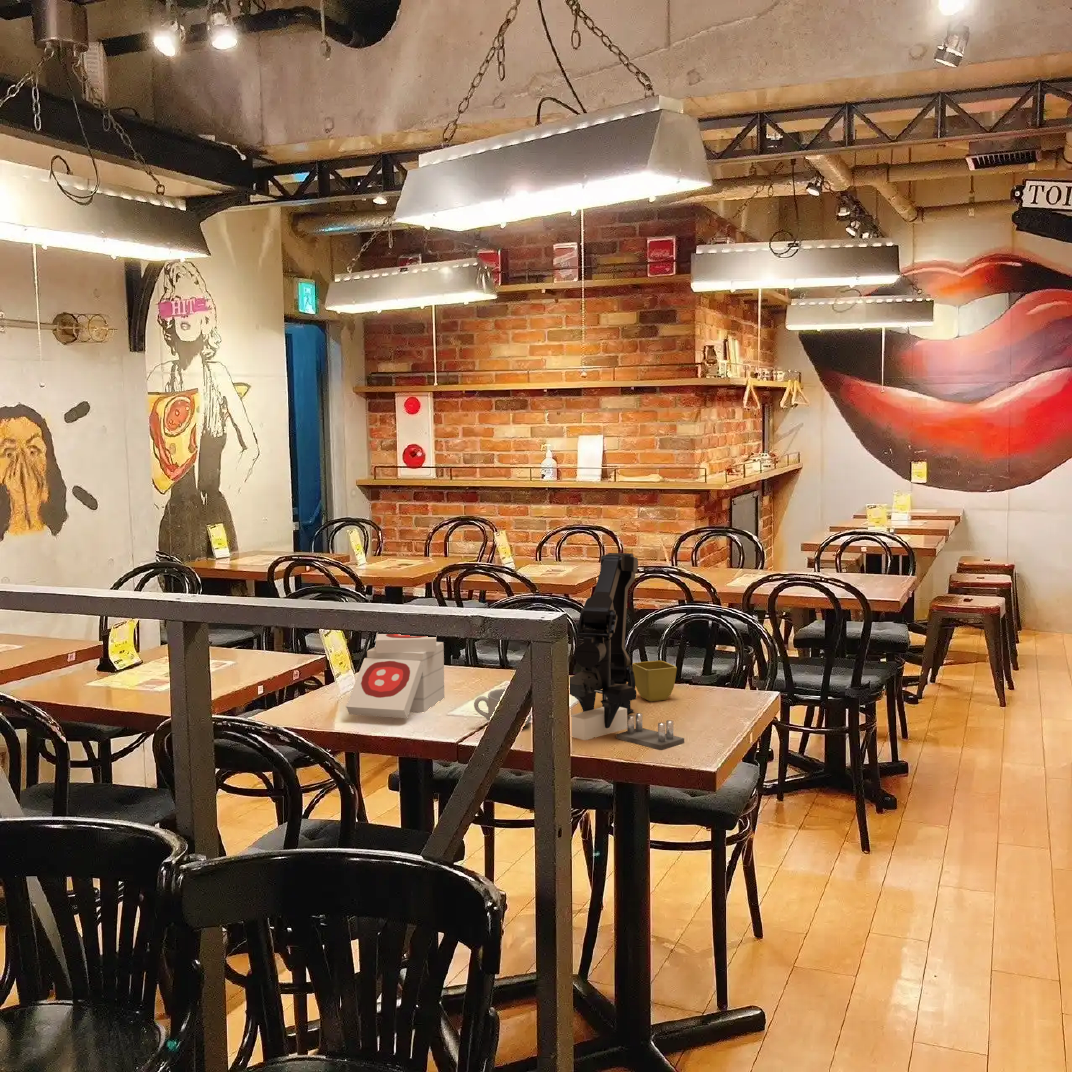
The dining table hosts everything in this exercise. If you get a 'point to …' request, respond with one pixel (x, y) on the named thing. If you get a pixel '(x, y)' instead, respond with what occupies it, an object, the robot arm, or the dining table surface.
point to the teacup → (491, 703)
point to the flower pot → (654, 679)
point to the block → (597, 723)
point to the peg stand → (649, 734)
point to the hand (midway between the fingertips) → (598, 725)
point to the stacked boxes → (399, 677)
